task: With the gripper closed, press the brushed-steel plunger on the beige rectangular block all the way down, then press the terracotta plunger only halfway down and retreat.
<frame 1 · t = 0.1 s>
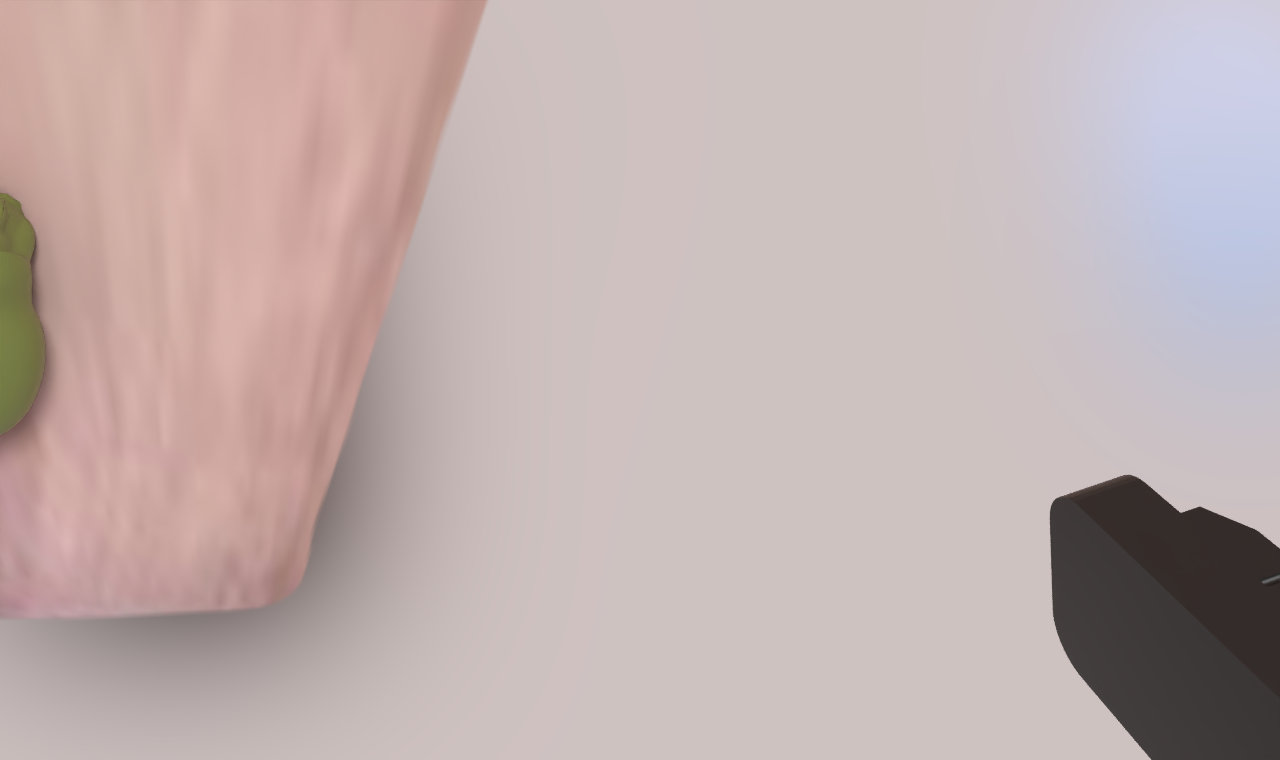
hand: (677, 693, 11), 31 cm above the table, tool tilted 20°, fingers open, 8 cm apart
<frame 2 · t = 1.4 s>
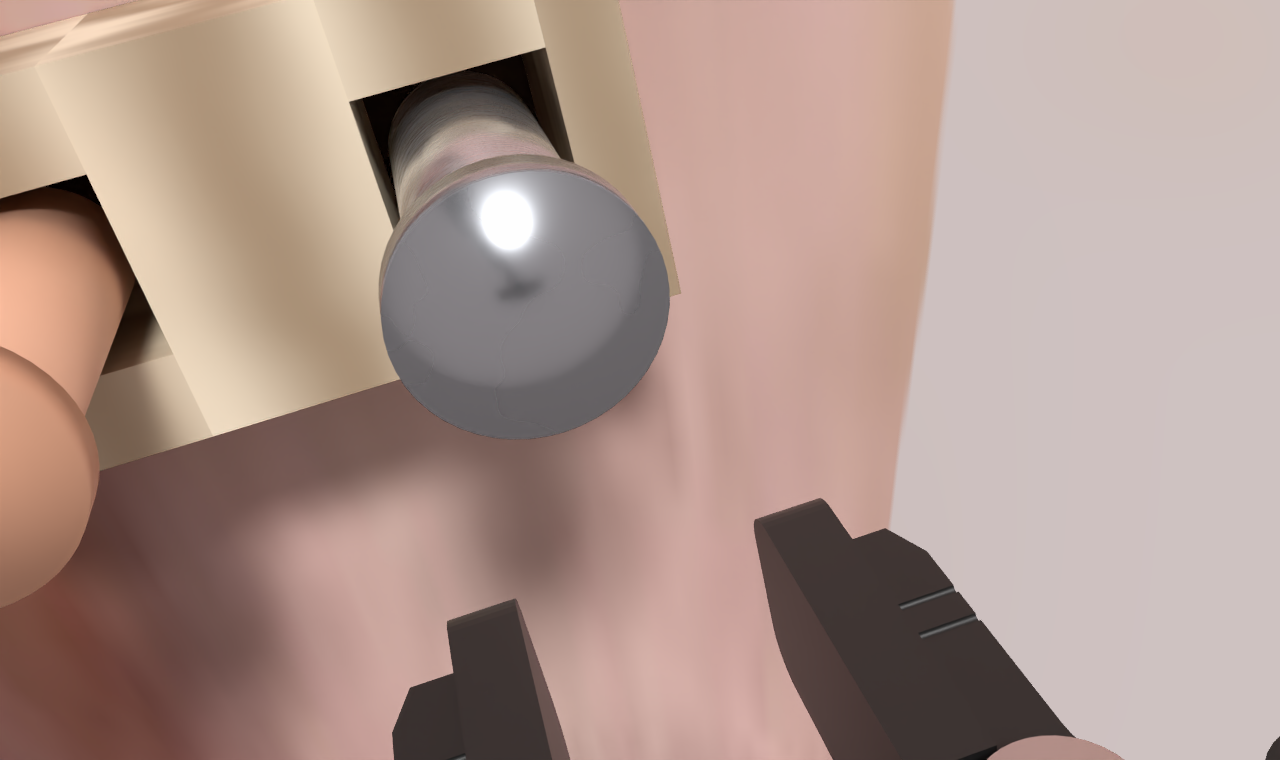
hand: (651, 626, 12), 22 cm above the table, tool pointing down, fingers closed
steel plunger: (491, 214, 23), point 9 cm above the table, slide at 0.0 cm
beige rectangular block: (269, 155, 30), on the table
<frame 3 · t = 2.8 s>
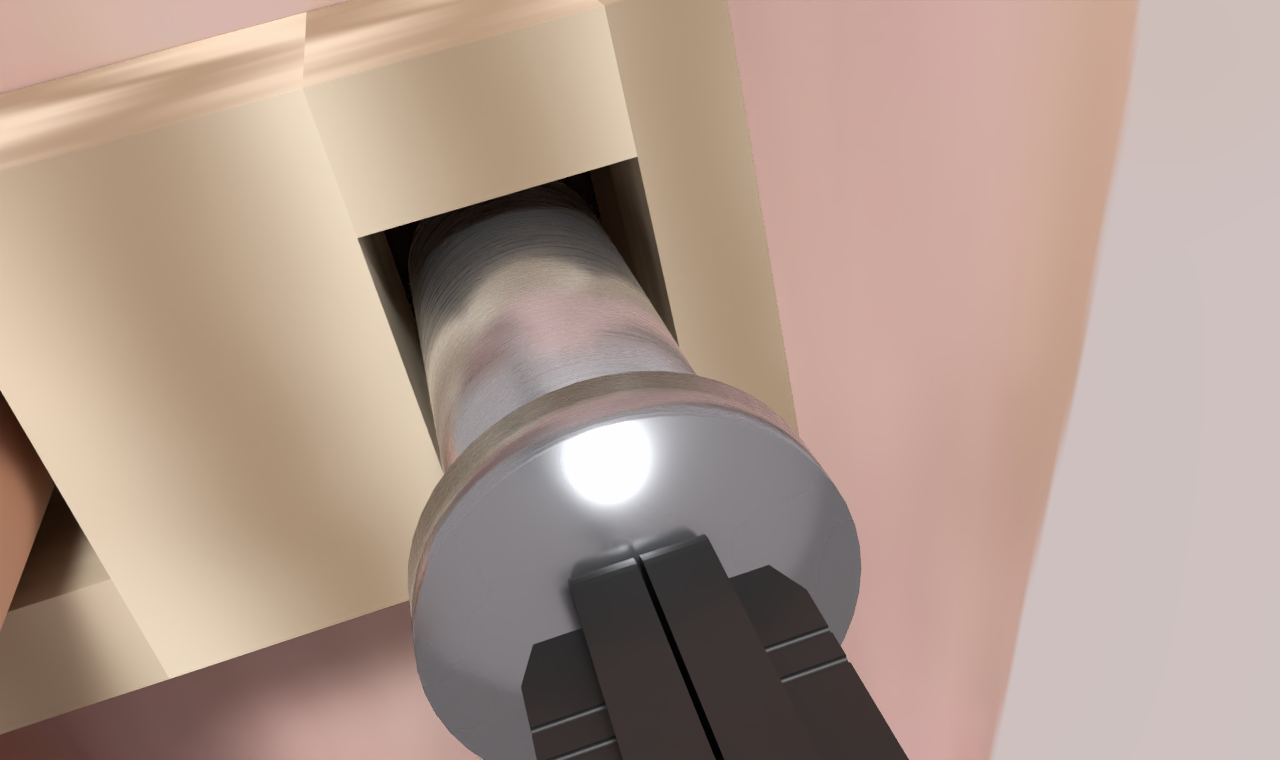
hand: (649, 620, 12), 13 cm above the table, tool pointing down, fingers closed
steel plunger: (560, 395, 16), point 8 cm above the table, slide at 0.6 cm, touching gripper
beige rectangular block: (249, 272, 23), on the table
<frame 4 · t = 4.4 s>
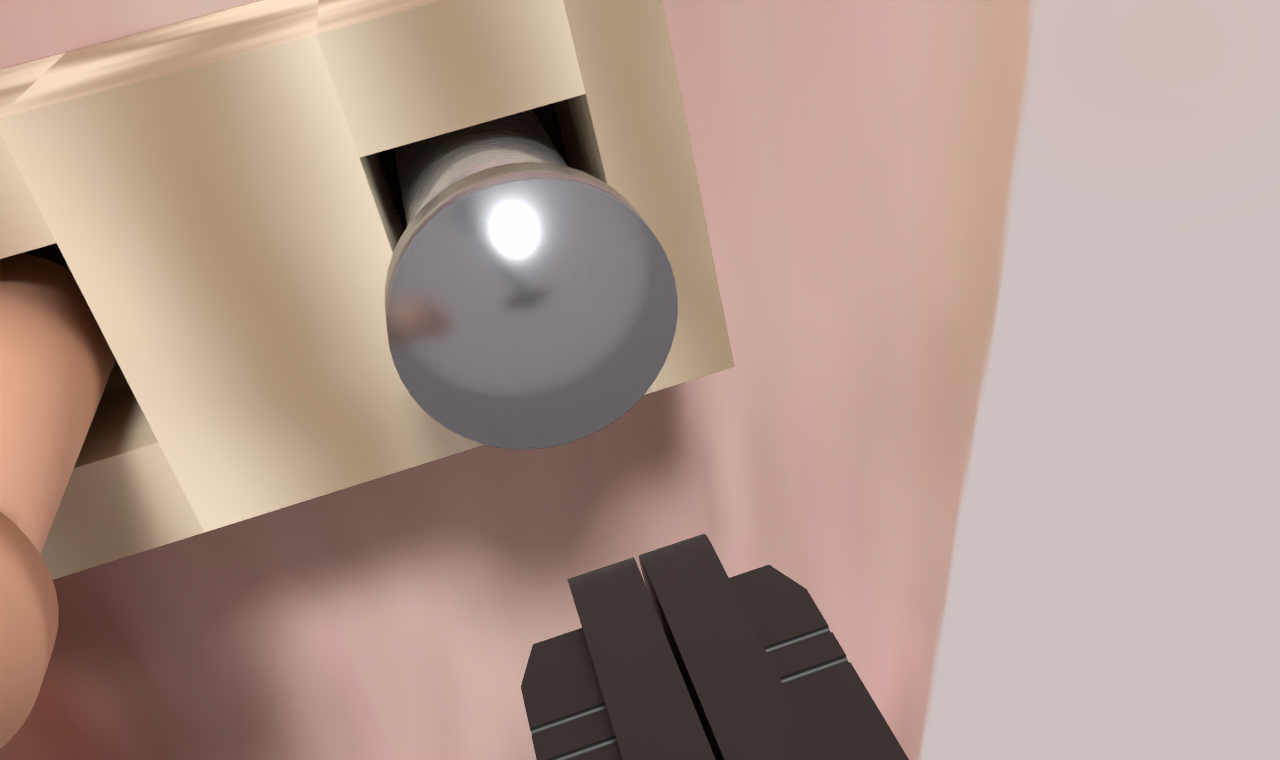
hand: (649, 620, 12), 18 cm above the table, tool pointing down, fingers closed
steel plunger: (498, 223, 23), point 5 cm above the table, slide at 3.6 cm
beige rectangular block: (270, 207, 27), on the table
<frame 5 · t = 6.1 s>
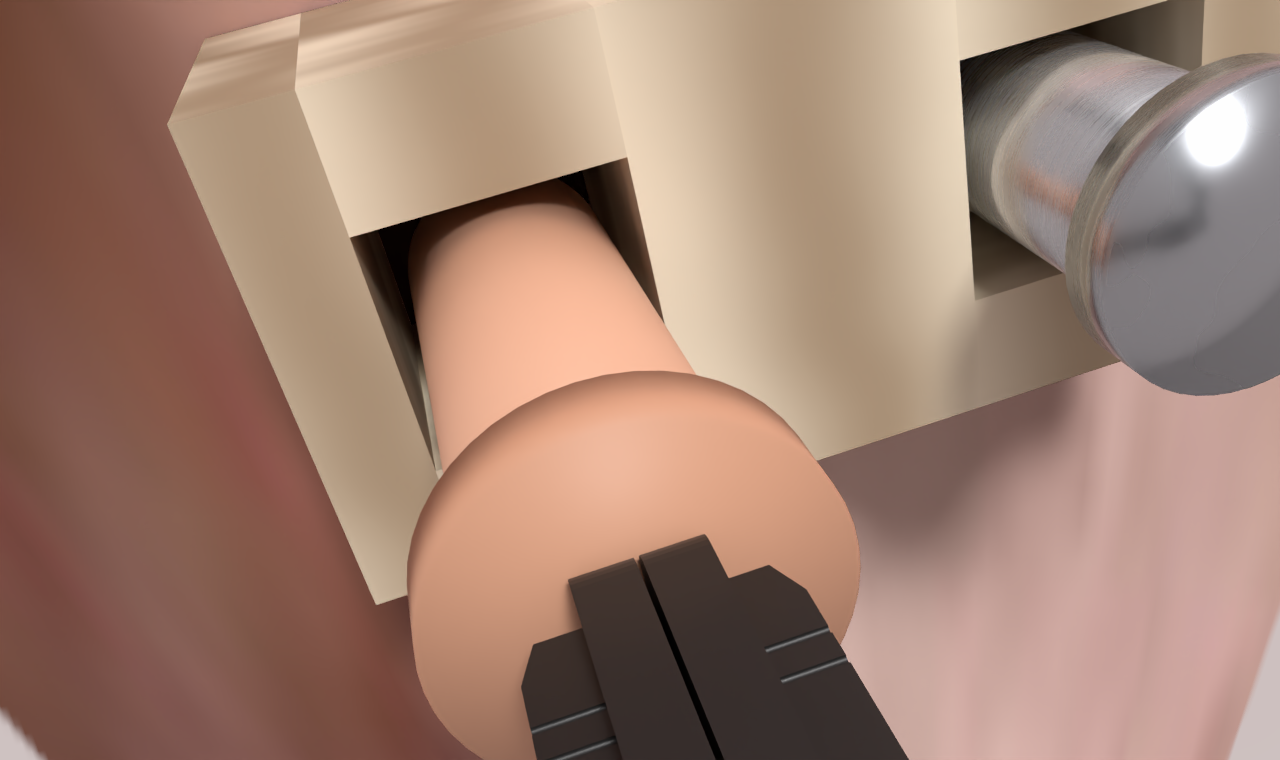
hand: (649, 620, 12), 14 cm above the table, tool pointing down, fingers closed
steel plunger: (1060, 143, 20), point 5 cm above the table, slide at 3.6 cm
beige rectangular block: (708, 136, 24), on the table
terracotta plunger: (559, 395, 16), point 9 cm above the table, slide at 0.4 cm, touching gripper
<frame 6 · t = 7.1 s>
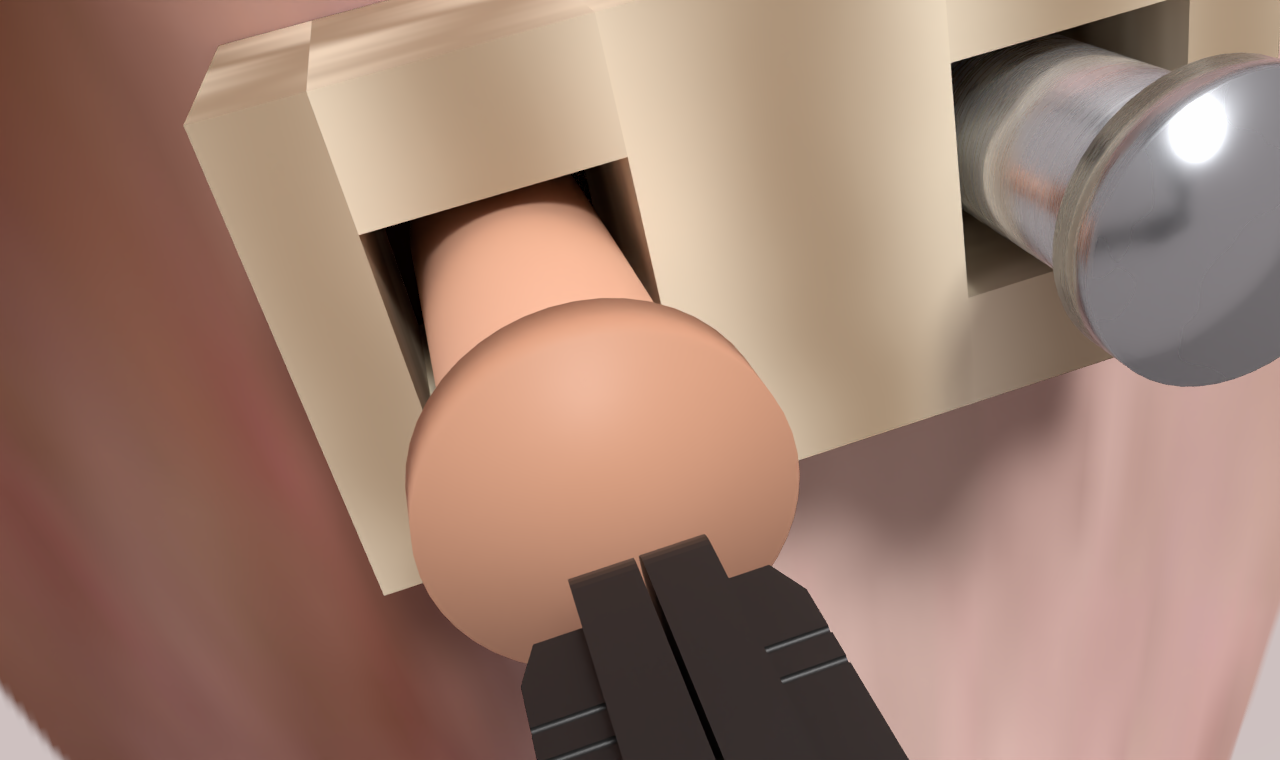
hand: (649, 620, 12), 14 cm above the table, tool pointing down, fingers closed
steel plunger: (1051, 144, 21), point 5 cm above the table, slide at 3.6 cm
beige rectangular block: (708, 140, 25), on the table
terracotta plunger: (544, 341, 18), point 7 cm above the table, slide at 1.9 cm
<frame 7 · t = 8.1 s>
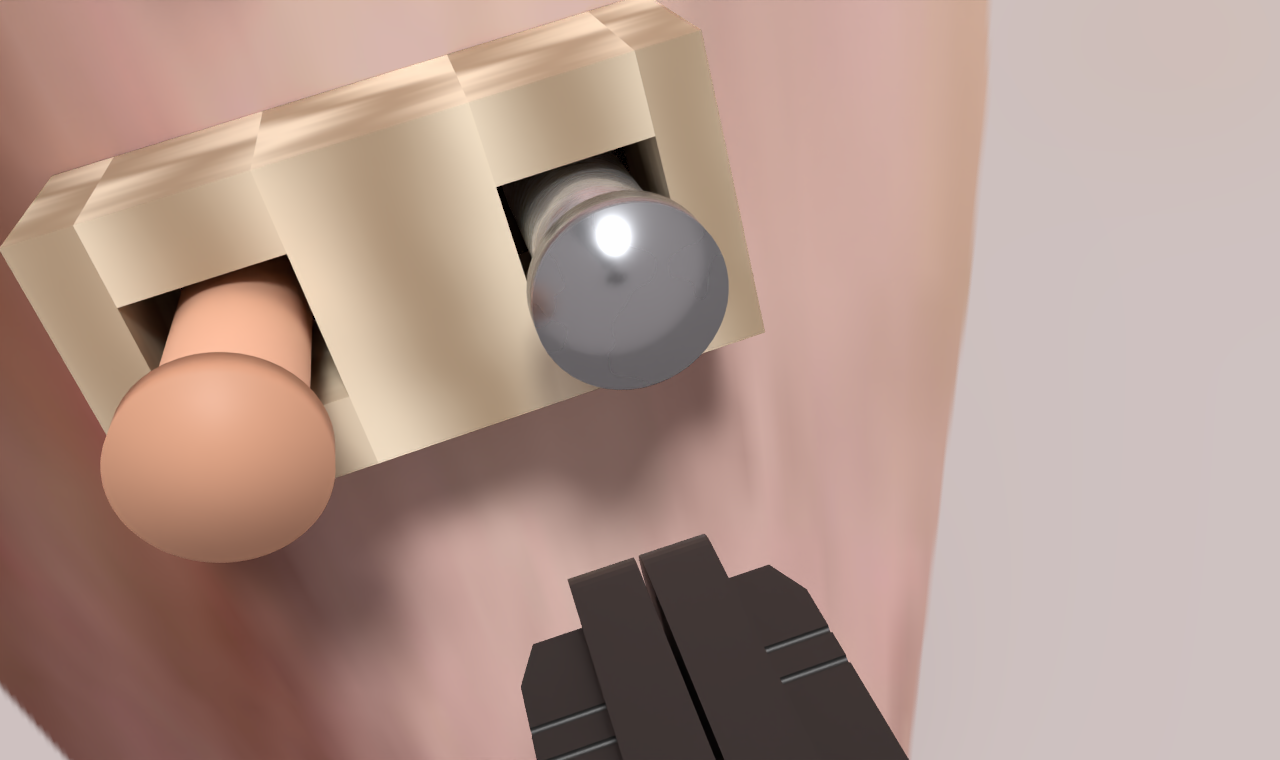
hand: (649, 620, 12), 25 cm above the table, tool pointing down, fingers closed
steel plunger: (590, 230, 31), point 5 cm above the table, slide at 3.6 cm
beige rectangular block: (407, 221, 35), on the table
terracotta plunger: (237, 370, 29), point 7 cm above the table, slide at 1.9 cm
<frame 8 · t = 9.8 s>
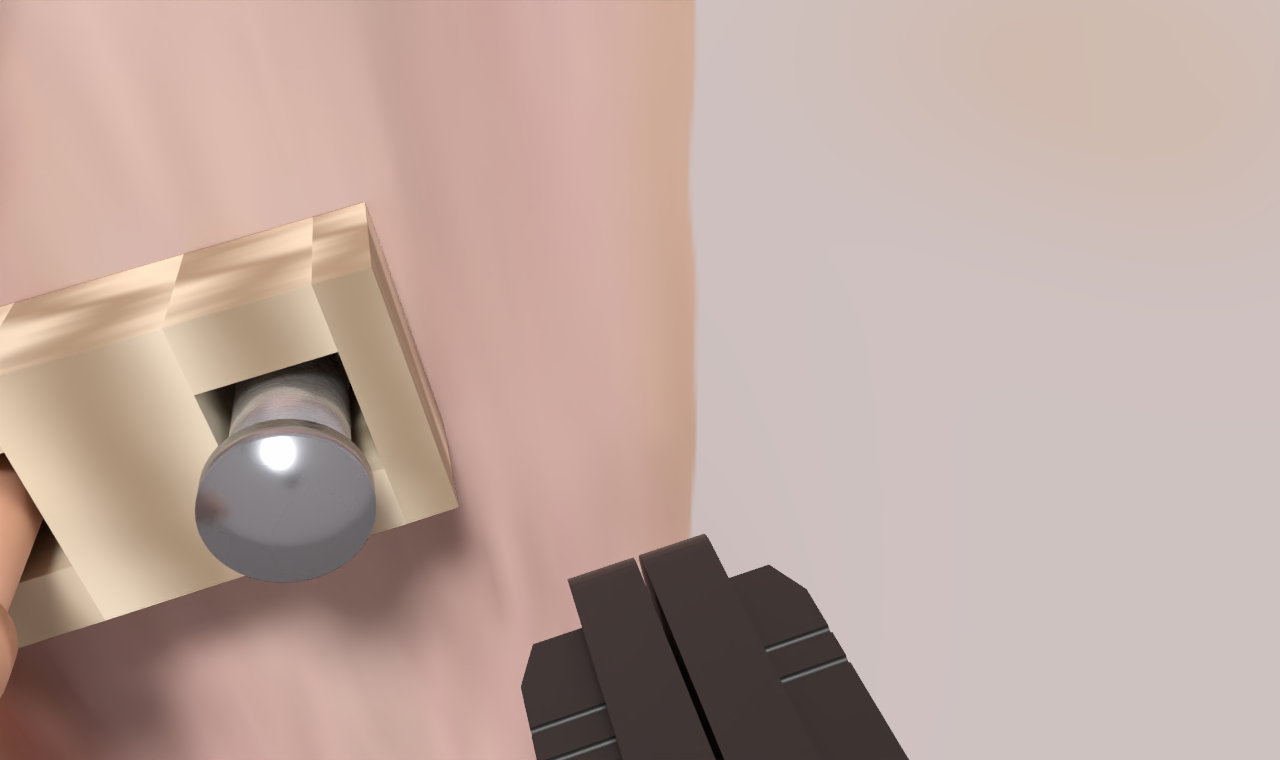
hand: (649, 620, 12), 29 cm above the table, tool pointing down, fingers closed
steel plunger: (291, 424, 36), point 5 cm above the table, slide at 3.6 cm
beige rectangular block: (156, 392, 40), on the table
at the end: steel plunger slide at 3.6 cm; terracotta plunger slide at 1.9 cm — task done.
